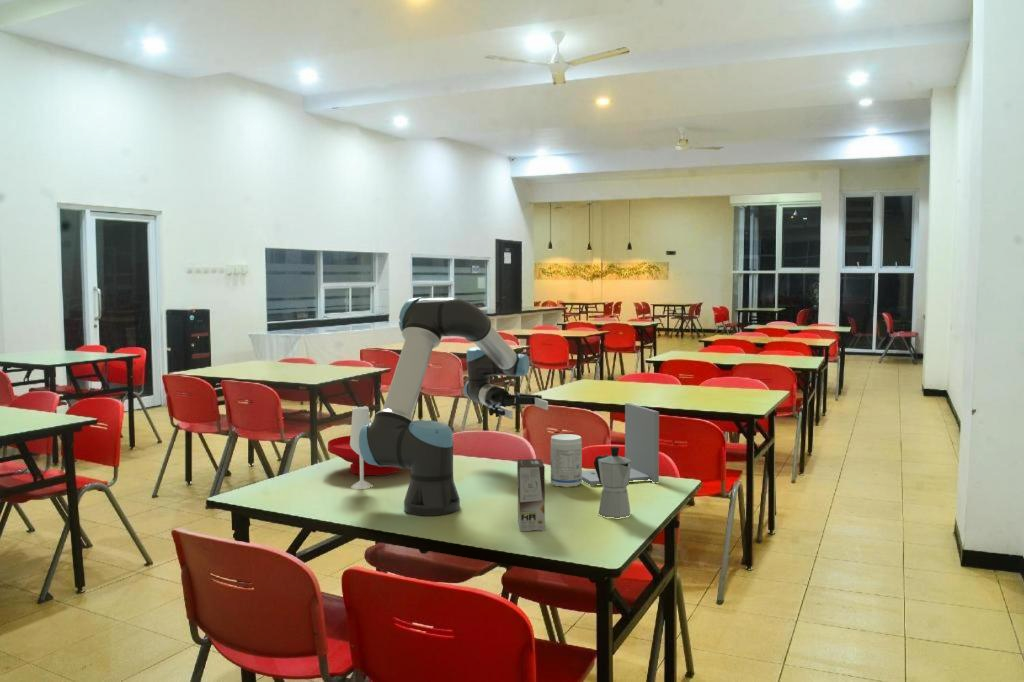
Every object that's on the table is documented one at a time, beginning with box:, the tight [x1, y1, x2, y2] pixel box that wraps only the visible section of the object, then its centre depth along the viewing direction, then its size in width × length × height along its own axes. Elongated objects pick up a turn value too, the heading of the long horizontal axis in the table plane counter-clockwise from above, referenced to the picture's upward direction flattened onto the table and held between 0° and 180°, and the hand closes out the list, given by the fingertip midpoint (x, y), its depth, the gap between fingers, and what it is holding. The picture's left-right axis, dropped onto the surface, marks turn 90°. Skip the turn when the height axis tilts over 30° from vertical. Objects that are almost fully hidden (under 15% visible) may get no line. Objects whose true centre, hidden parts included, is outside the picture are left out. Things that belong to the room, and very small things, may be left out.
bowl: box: [327, 434, 400, 476], centre depth 258 cm, size 30×30×10 cm
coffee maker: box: [593, 446, 632, 518], centre depth 205 cm, size 15×9×18 cm, turn 30°
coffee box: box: [516, 458, 546, 532], centre depth 194 cm, size 9×6×16 cm
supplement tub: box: [550, 433, 583, 487], centre depth 237 cm, size 10×10×15 cm
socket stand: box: [582, 402, 660, 485], centre depth 244 cm, size 20×21×22 cm
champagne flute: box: [350, 406, 374, 490], centre depth 235 cm, size 7×7×24 cm
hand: (529, 410), depth 246 cm, fingers open, 13 cm apart
